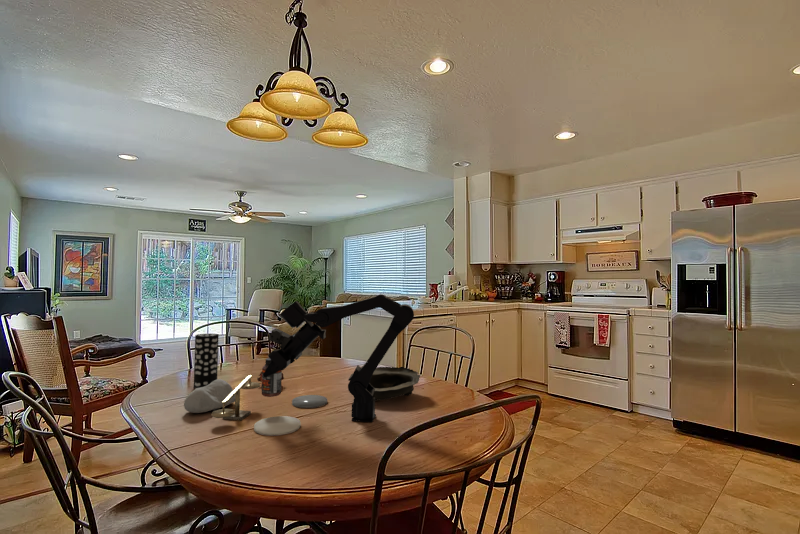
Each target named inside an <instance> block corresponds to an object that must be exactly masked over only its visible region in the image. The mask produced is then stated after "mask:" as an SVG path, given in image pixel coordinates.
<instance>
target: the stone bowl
mask: <svg viewBox="0 0 800 534" xmlns="http://www.w3.org/2000/svg"><path fill="white" fill-rule="evenodd" d="M420 377H421V374H419V373H418V372H417V371H415V370H413V369H411V368H410V367H409V368H407V367H404V366H400V367H395V366H392V367H391V366H377V368H376V369H375V371H374V373H373V375H372V377H371V380H370V382H369V383H370V384H371V385H372V386H373V387H374V388H375V391H374V394H373V398H375V402H376V401H379V400H380V401H382V400H389V399H393V398H397V397H400V396H401V397H402V396H406V397H408V396H412V394H413V391H414V389H415V388H414V386H415V385H417V384H418V383H419V380H420Z"/></svg>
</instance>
